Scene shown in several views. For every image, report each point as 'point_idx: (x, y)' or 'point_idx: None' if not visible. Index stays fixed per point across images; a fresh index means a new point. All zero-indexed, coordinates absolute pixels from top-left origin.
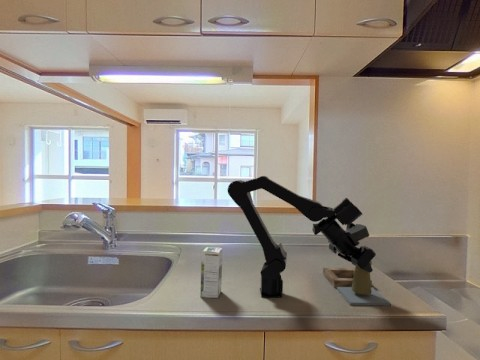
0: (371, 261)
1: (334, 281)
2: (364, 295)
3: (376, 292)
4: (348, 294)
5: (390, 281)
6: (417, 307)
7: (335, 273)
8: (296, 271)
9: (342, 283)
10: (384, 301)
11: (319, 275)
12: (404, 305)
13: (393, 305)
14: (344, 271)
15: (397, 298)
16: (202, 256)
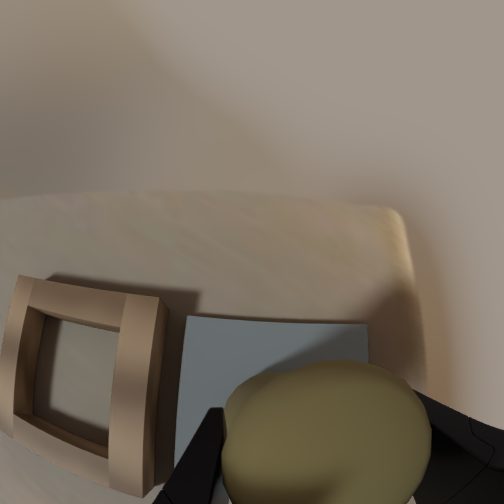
0: (384, 368)
1: (144, 495)
2: None
3: (254, 330)
4: None
5: (125, 194)
6: (364, 235)
7: (24, 392)
8: (4, 495)
9: (147, 456)
10: (355, 343)
11: (25, 450)
12: (354, 270)
13: (359, 312)
14: (23, 349)
15: (291, 259)
16: None
